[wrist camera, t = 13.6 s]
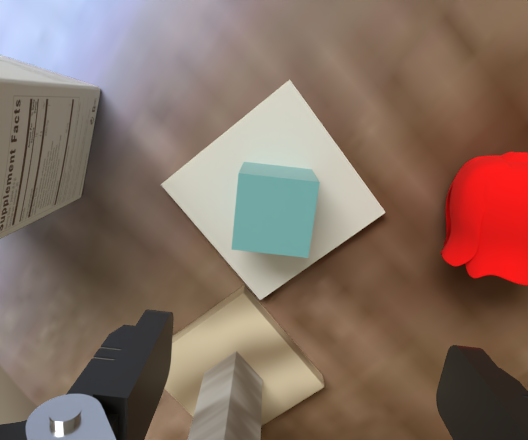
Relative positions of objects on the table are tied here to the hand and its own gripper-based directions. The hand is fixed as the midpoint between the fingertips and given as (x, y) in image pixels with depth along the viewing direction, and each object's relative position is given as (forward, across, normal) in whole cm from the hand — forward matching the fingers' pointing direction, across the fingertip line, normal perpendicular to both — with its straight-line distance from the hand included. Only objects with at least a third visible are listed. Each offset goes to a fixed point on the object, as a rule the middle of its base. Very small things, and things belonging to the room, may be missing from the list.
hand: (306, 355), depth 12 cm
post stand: (+20, +3, +15) cm, 26 cm away
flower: (+21, -15, -2) cm, 25 cm away
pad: (+20, +1, 0) cm, 20 cm away
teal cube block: (+19, +1, 0) cm, 19 cm away
